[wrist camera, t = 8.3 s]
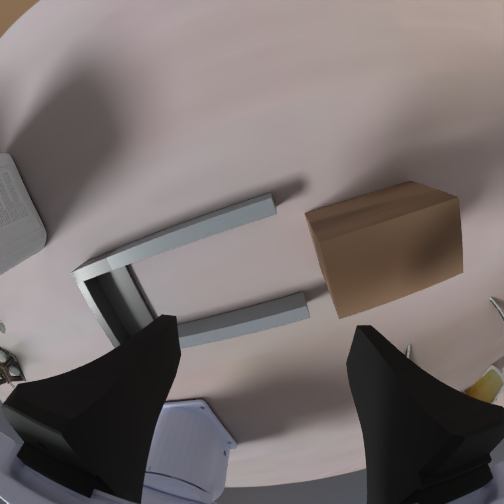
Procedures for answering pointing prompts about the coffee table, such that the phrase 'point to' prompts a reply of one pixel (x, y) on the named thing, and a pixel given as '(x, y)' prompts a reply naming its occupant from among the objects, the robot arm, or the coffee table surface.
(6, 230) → the photo printer
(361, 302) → the walnut block
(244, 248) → the coffee table surface
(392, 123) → the coffee table surface
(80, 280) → the channel
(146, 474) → the robot arm
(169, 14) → the coffee table surface
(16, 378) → the eiffel tower figurine
